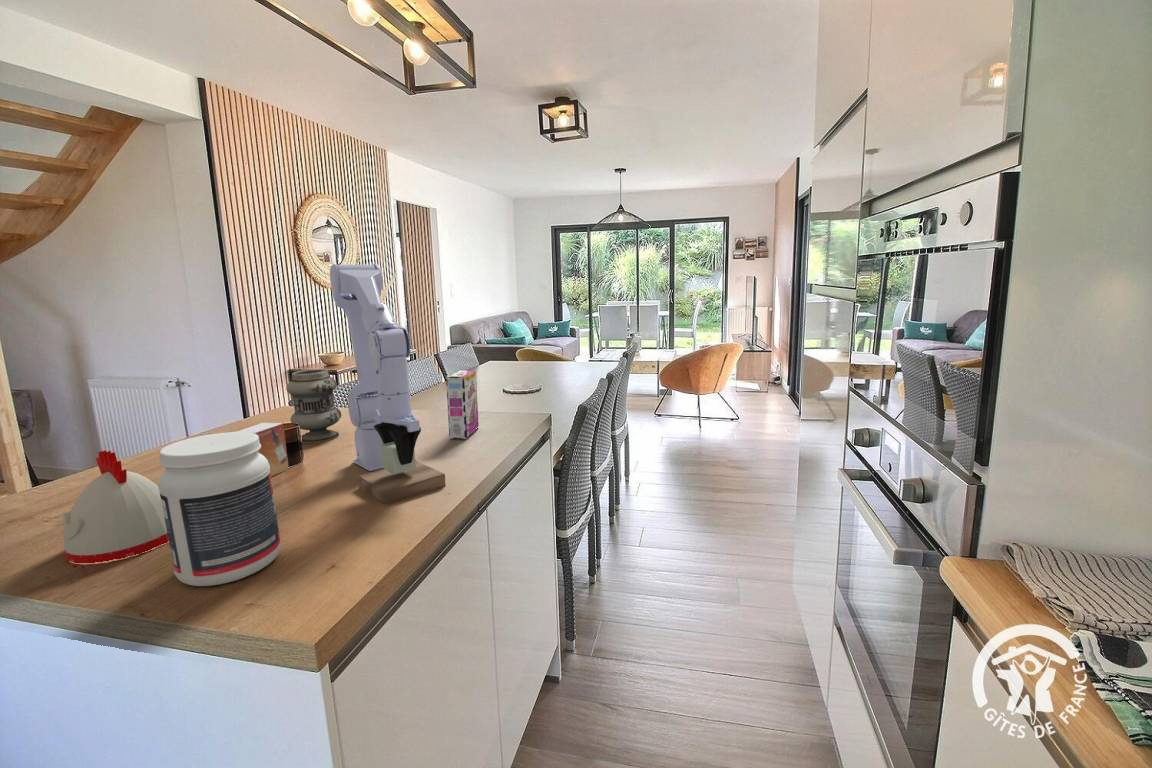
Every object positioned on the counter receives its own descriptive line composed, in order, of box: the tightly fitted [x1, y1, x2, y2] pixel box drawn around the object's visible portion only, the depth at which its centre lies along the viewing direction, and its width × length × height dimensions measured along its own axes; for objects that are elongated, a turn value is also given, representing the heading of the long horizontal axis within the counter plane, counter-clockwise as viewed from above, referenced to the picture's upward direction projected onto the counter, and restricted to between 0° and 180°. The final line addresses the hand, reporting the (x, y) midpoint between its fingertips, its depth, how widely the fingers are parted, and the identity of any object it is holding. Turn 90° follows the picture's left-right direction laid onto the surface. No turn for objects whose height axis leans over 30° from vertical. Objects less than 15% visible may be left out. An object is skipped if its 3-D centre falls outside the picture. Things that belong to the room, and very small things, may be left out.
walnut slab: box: [358, 460, 446, 506], centre depth 103 cm, size 12×12×3 cm
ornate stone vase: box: [286, 368, 342, 444], centre depth 138 cm, size 12×12×18 cm
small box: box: [234, 422, 289, 478], centre depth 111 cm, size 8×6×10 cm
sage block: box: [381, 441, 416, 474], centre depth 102 cm, size 4×4×5 cm
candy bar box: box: [445, 369, 479, 440], centre depth 138 cm, size 11×5×16 cm, turn 174°
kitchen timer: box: [62, 449, 169, 563], centre depth 82 cm, size 14×14×15 cm
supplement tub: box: [157, 431, 282, 587], centre depth 73 cm, size 13×13×18 cm
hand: (400, 460), depth 102 cm, fingers closed on sage block, 4 cm apart
